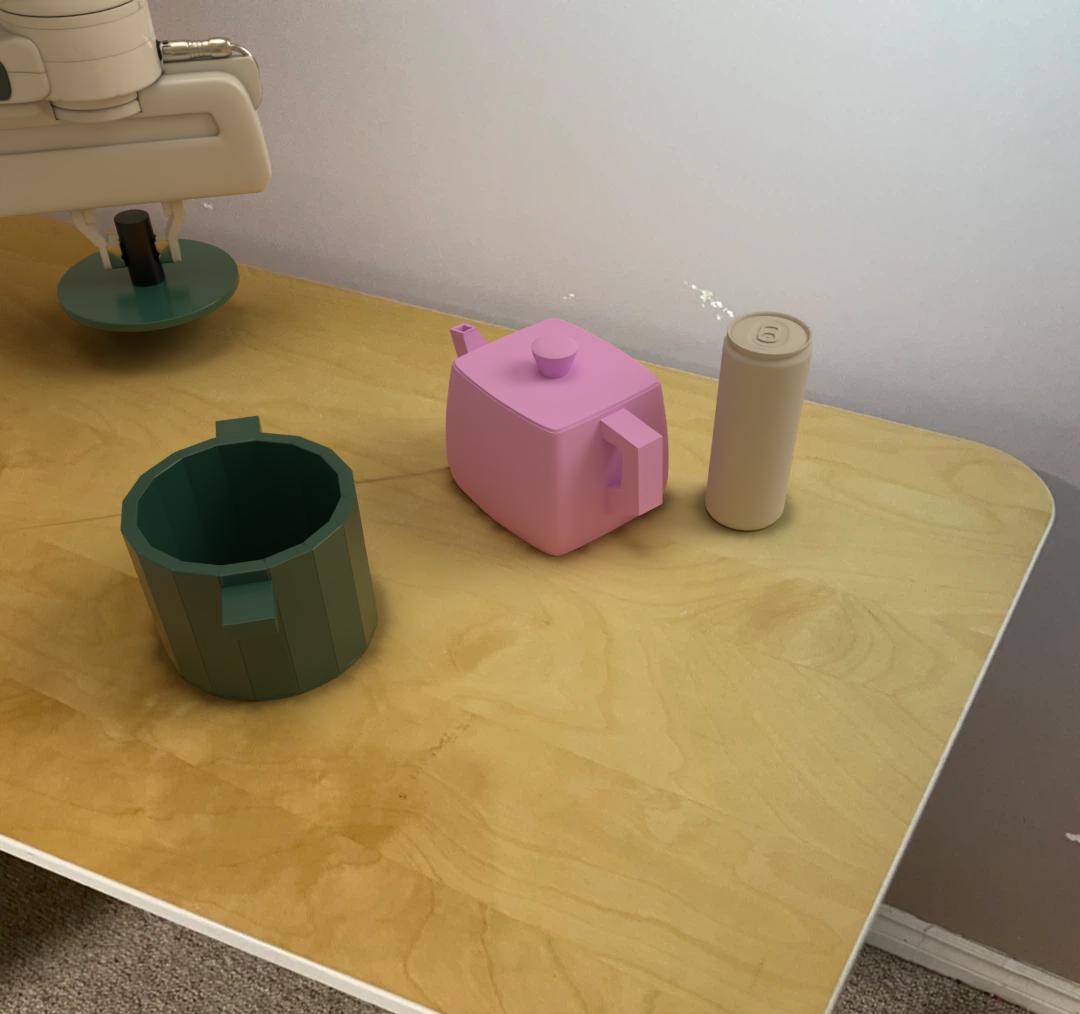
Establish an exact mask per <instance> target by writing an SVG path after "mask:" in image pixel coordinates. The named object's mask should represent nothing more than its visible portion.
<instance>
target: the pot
mask: <svg viewBox="0 0 1080 1014" xmlns="http://www.w3.org/2000/svg"><path fill="white" fill-rule="evenodd" d="M214 425H215V437H212V438H209V439H206V440H203V441H201V442H198V443H195V444H193V445H190V446H187V447H184V448H182V449H179V450H176V451H173V452H172V453H170V454H169V455H167V456H166V457H164V458H163V459H162V460H160V461H159V462H158V463H156V464H154V466H152V467H150V468H148V470H146V471H145V472H143V473H142V474H140V475H139V477H138V478H137V480H135V482H134V484H133V485H132V487H131V488H130V490H129V491H128V493H126V495H125V496H124V498H123V499H122V502H121V512H120V513H121V514H120V527H119V528H120V529H119V530H120V533H121V536H122V538H123V541H124V543H125V546H126V548H127V552H128V554H129V558H130V559H131V562H132V564H133V568H134V571H135V572H136V575H137V578H138V581H139V583H140V586H141V589H142V591H143V595H144V597H145V599H146V602H147V604H148V607H149V610H150V613H151V615H152V618H153V620H154V624H155V626H156V629H157V631H158V634H159V636H160V639H161V642H162V644H163V648H164V650H165V652H166V654H167V656H168V657H169V659H170V661H171V662H172V664H173V666H174V668H175V669H176V671H177V672H178V674H180V675H181V677H182V678H184V680H186V681H187V682H188V684H191V685H192V686H194V687H195V688H197V689H198V690H201V691H203V692H205V693H207V694H209V695H212V696H216V697H218V698H223V699H228V700H234V701H242V702H266V701H275V700H282V699H287V698H292V697H295V696H299V695H302V694H304V693H308V692H310V691H313V690H315V689H318V688H321V687H323V686H324V685H326V684H328V683H330V682H331V681H333V680H335V679H337V678H339V676H341V675H342V674H344V673H345V672H346V671H348V670H349V668H351V667H352V666H353V665H354V664H356V662H357V661H359V659H360V658H361V657H362V656H363V655H364V653H365V652H366V650H367V649H368V648H369V647H370V644H371V642H372V639H373V638H374V635H375V632H376V628H377V622H378V618H379V617H378V611H377V605H376V599H375V594H374V593H375V592H374V588H373V582H372V577H371V576H372V575H371V570H370V564H369V558H368V551H367V548H366V547H367V546H366V541H365V535H364V530H363V524H362V518H361V517H362V516H361V512H360V507H359V500H358V494H357V489H356V483H355V477H354V472H353V470H352V468H351V467H350V466H349V465H348V464H347V463H346V462H345V461H344V460H343V459H342V457H340V455H338V454H337V453H336V452H335V451H334V450H333V449H332V448H331V447H328V446H326V445H323V444H321V443H318V442H316V441H313V440H311V439H307V438H305V437H302V436H300V435H293V434H283V433H274V432H263V427H262V424H261V419H260V416H259V415H252V416H245V417H237V418H230V419H221V420H216V421H215V424H214Z"/></svg>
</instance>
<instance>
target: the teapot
mask: <svg viewBox="0 0 1080 1014" xmlns="http://www.w3.org/2000/svg"><path fill="white" fill-rule="evenodd" d="M449 333H450V336H451V340H452V343H453V346H454V350H455V353H456V356H457V358H455V359H454V360H453V361H452V363H451V368H450V374H449V382H448V389H447V397H446V407H445V408H446V409H445V450H446V460H447V464H448V467H449V470H450V472H451V473H450V474H451V475H452V477H453V480H454V482H455V483H456V484H457V486H458V487H459V488H460V490H462V491H463V493H464V494H465V495H466V496H467V497H468V498H469V499H470V500H472V501H473V502H474V503H475V504H476V505H477V506H478V507H479V508H480V509H481V510H482V511H483V512H484V513H486V515H488V516H489V517H490V518H491V519H492V520H494V521H495V522H496V523H498V524H499V525H500V526H502V528H505V529H506V530H507V531H509V532H511V533H512V534H513V535H515V536H517V538H520V539H521V540H523V541H524V542H526V543H527V544H529V545H531V546H532V547H533V548H535V549H537V550H539V551H541V552H543V553H545V554H547V555H549V556H553V557H560V556H564V555H566V554H569V553H571V552H573V551H576V550H578V549H579V548H581V547H583V546H585V545H587V544H589V543H591V542H593V541H594V540H597V539H599V538H601V537H603V536H605V535H606V534H609V533H610V532H612V531H614V530H616V529H618V528H620V527H621V526H623V525H625V524H627V523H629V522H630V521H632V520H634V519H635V518H638V517H640V516H642V515H644V514H646V513H648V512H649V511H651V510H653V509H655V508H657V507H659V506H661V505H663V495H664V493H665V489H666V487H667V484H668V479H669V468H670V466H669V465H670V464H669V463H670V458H669V457H670V451H669V449H670V448H669V447H670V446H669V431H668V423H667V414H666V407H665V401H664V393H663V388H662V387H663V386H662V383H661V380H660V379H659V377H657V375H655V374H654V373H653V372H652V371H651V370H650V369H649V368H647V367H646V366H645V365H643V364H642V363H641V362H639V361H638V360H636V359H635V358H633V357H632V356H630V355H629V354H627V353H626V352H625V351H623V350H621V349H620V348H618V347H617V346H615V345H613V344H612V343H609V342H608V341H607V340H604V339H603V338H601V337H599V336H598V335H595V334H594V333H592V332H590V331H588V330H586V329H584V328H582V327H580V326H579V325H576V324H574V323H571V322H569V321H567V320H564V319H562V318H558V317H551V318H548V319H545V320H542V321H539V322H537V323H535V324H531V325H529V326H527V327H524V328H522V329H519V330H517V331H515V332H512V333H510V334H507V335H505V336H503V337H500V338H498V339H496V340H493V341H491V342H487V340H486V339H485V338H484V336H483V335H482V334H481V333H480V331H479V327H478V326H476V325H472V324H469V323H466V322H462V323H460V324H458V325H454V326H453V327H451V328H449Z"/></svg>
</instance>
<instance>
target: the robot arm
mask: <svg viewBox="0 0 1080 1014" xmlns="http://www.w3.org/2000/svg"><path fill="white" fill-rule="evenodd" d="M156 38H157V37H156V32H155V29H154V24H153V21H152V15H151V11H150V8H149V3H148V0H0V218H10V217H20V216H21V217H22V216H29V215H30V216H33V215H41V214H50V213H52V214H53V213H61V212H62V213H63V212H69V214H70V215H71V216H70V217H71V219H72V224H73V226H74V227H75V228H76V229H77V231H79V232H80V233H81V234H82V235H83V236H84V237H85V238H86V239H87V240H88V241H89V242H90V243H91V244H92V246H94V247H95V248H98V251H99V252H100V255H101V258H102V261H103V265H104V268H105V269H106V270H109V269H117V268H125V267H127V264H126V261H125V257H124V254H123V250H122V247H121V243H120V240H119V237H118V233H117V234H109V233H108V232H107V231H106V230H105V229H104V228H103V227H102V226H101V225H100V224H99V222H98V221H96V210H97V209H104V208H113V207H114V208H115V207H124V206H133V205H134V206H135V205H146V204H147V205H148V204H155V203H156V204H157V203H161V207H162V210H163V211H162V212H163V214H164V216H165V217H168V219H167V223H166V226H165V229H158V230H153V232H154V235H155V238H154V243H155V247H156V251H157V252H158V258H159V262H160V264H166V263H176V262H181V252H180V247H179V243H178V239H179V238H178V237H179V235H180V232H181V228H182V227H183V223H184V220H185V217H186V201H188V200H198V199H207V198H220V197H229V196H241V195H251V194H259V193H263V192H264V191H266V189H267V187H268V185H269V184H270V182H271V180H272V178H273V172H272V170H273V169H272V165H271V159H270V155H269V150H268V146H267V142H266V137H265V134H264V129H263V126H262V122H261V119H260V116H259V113H258V108H259V107H260V105H261V103H262V101H263V95H264V89H263V84H262V78H261V71H260V66H259V64H258V61H257V59H256V58H255V56H254V55H253V53H251V51H249V50H248V49H247V48H246V47H244V46H243V45H240V44H237V43H234V42H231V39H230V38H229V37H225V36H212V37H208V38H207V39H172V40H167V39H166V40H158V39H156ZM233 51H234V52H237V53H234V54H233Z"/></svg>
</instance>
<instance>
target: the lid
mask: <svg viewBox="0 0 1080 1014" xmlns="http://www.w3.org/2000/svg"><path fill="white" fill-rule="evenodd" d="M113 223H114V226H115V229H116V233H117V234H118V237H119V240H120V243H121V247H122V250H123V254H124V257H125V261H126V264H127V267H125V268H117V269H109V270H106V269H105V268H104V265H103V261H102V258H101V255H100V252H99V250H98V251H96V252H93V253H91V254H89V255H88V256H86V257H84V258H82V259H80V260H79V261H77V262H76V263H74V264H73V265H71V266H70V268H68V269H67V270H66V271H65V272H64V273H63V275H62V276H61V277H60V279H59V281H58V283H57V287H56V296H57V300H58V303H59V306H60V308H61V309H62V311H63V312H64V313H65V314H66V315H67V316H68V317H69V318H71V319H72V320H74V321H75V322H77V323H79V324H82V325H83V326H87V327H90V328H93V329H98V330H102V331H109V332H121V333H138V332H151V331H158V330H164V329H169V328H174V327H177V326H180V325H185V324H187V323H191V322H193V321H196V320H198V319H201V318H203V317H205V316H208V315H209V314H212V313H213V312H214V311H216V310H218V309H219V308H221V307H222V306H224V305H225V304H226V303H227V302H228V301H229V300H230V299H231V298H232V297H233V296H234V294H235V293H236V291H237V289H238V287H239V284H240V272H239V268H238V267H239V266H238V264H237V262H236V261H235V259H234V257H232V256H231V254H229V253H228V252H226V250H224V249H222V248H220V247H218V246H217V245H216V246H215V245H213V244H210V243H208V242H203V241H199V240H194V239H186V238H177V239H178V243H179V247H180V252H181V262H176V263H166V264H160V262H159V258H158V252H157V251H156V247H155V243H154V238H155V235H154V229H153V224H152V221H151V217H150V214H149V212H148V211H146V210H144V209H139V208H133V209H132V208H131V209H126V210H123V211H119V212H118V213H116V214H115V215H114V217H113Z"/></svg>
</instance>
